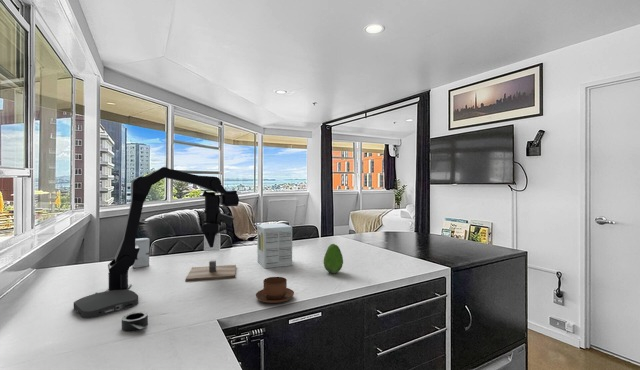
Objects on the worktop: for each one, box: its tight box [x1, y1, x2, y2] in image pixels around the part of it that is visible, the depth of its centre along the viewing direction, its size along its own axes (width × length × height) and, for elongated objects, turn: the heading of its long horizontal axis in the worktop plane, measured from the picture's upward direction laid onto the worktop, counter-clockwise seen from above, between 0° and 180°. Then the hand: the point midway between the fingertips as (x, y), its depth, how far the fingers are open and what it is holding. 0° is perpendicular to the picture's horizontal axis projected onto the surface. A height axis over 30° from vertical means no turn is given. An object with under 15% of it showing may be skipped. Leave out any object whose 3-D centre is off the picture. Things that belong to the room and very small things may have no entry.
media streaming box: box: [73, 289, 139, 319], centre depth 95 cm, size 15×15×3 cm
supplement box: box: [256, 222, 293, 269], centre depth 143 cm, size 13×13×18 cm
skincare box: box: [131, 237, 151, 269], centre depth 139 cm, size 6×4×12 cm
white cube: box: [203, 232, 221, 252], centre depth 127 cm, size 6×6×6 cm
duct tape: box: [121, 311, 149, 333], centre depth 81 cm, size 8×10×3 cm
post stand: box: [184, 260, 237, 282], centre depth 128 cm, size 16×18×5 cm
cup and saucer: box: [255, 276, 295, 304], centre depth 100 cm, size 12×12×6 cm
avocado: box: [323, 243, 344, 274], centre depth 128 cm, size 8×8×12 cm
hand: (212, 245), depth 127 cm, fingers closed on white cube, 6 cm apart
